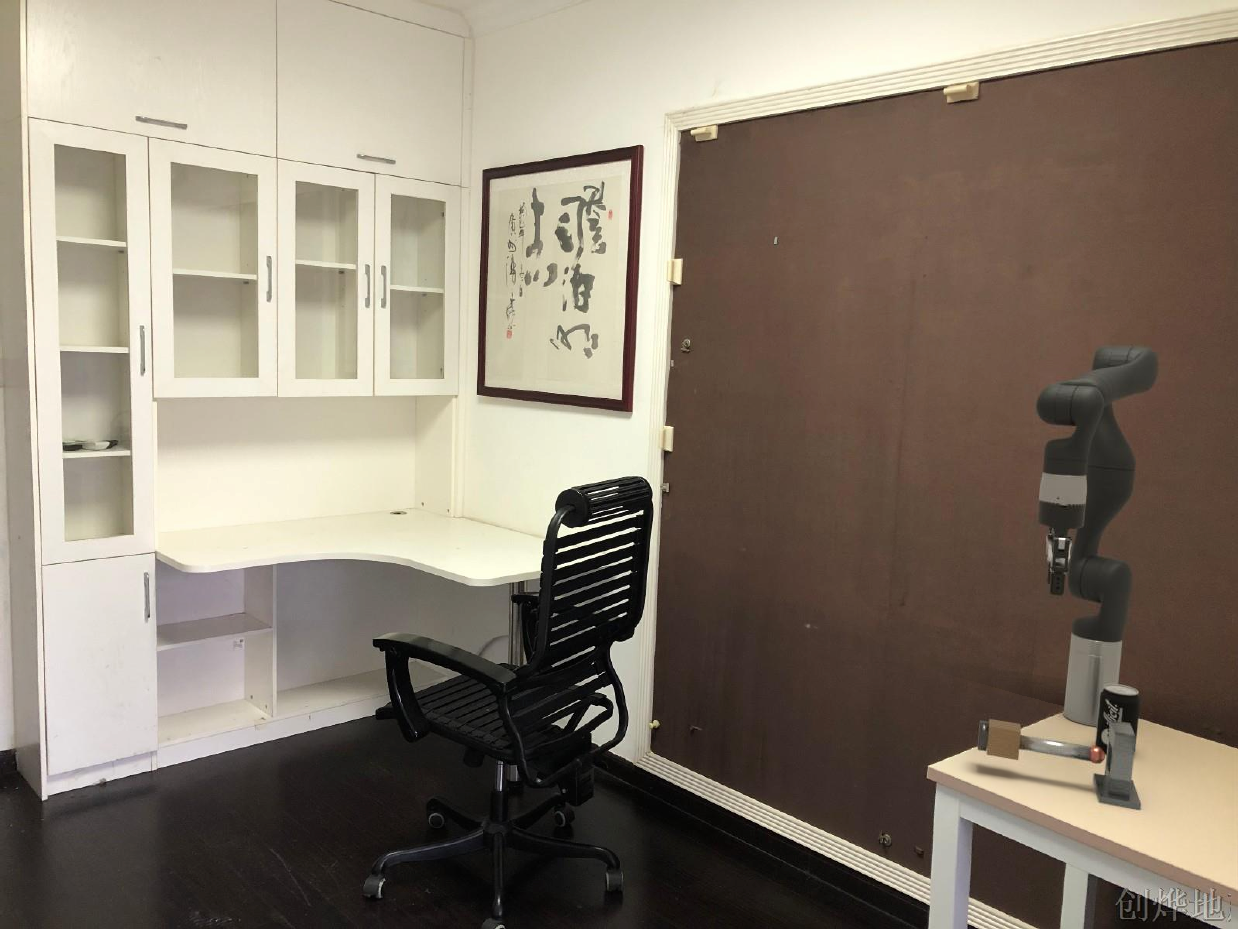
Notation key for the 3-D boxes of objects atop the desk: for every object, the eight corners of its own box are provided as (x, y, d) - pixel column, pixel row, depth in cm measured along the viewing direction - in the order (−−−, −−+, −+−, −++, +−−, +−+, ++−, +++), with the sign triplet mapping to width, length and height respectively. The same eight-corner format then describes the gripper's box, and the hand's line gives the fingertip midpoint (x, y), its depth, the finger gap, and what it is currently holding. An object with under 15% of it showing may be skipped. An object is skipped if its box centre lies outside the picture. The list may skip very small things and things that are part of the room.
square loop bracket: (1093, 778, 166) (1099, 715, 165) (1132, 785, 164) (1138, 722, 163) (1098, 802, 157) (1105, 735, 156) (1140, 810, 155) (1147, 742, 153)
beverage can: (1139, 760, 175) (1146, 696, 174) (1100, 756, 177) (1107, 692, 175) (1128, 747, 182) (1134, 685, 180) (1090, 742, 183) (1096, 681, 182)
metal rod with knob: (977, 754, 165) (979, 726, 165) (977, 744, 170) (980, 716, 170) (1105, 776, 158) (1108, 747, 158) (1101, 765, 163) (1104, 737, 163)
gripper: (1037, 492, 178) (1030, 578, 180) (1040, 502, 165) (1033, 595, 166) (1082, 495, 175) (1074, 583, 177) (1089, 506, 162) (1081, 601, 164)
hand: (1054, 589), depth 172 cm, fingers open, 8 cm apart
